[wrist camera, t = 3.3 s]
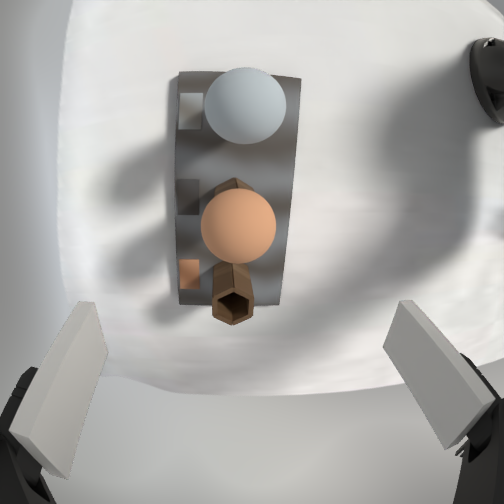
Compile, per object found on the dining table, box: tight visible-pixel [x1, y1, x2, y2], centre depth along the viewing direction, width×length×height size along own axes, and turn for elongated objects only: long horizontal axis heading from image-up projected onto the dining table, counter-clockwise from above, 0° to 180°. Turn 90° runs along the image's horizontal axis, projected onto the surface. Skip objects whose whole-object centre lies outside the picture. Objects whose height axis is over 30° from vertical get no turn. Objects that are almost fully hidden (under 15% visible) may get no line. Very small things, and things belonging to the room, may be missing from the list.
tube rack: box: [175, 71, 301, 326], centre depth 30 cm, size 28×13×8 cm, turn 177°
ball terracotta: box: [201, 188, 276, 264], centre depth 24 cm, size 6×6×6 cm
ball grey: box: [205, 68, 286, 144], centre depth 20 cm, size 6×6×6 cm
